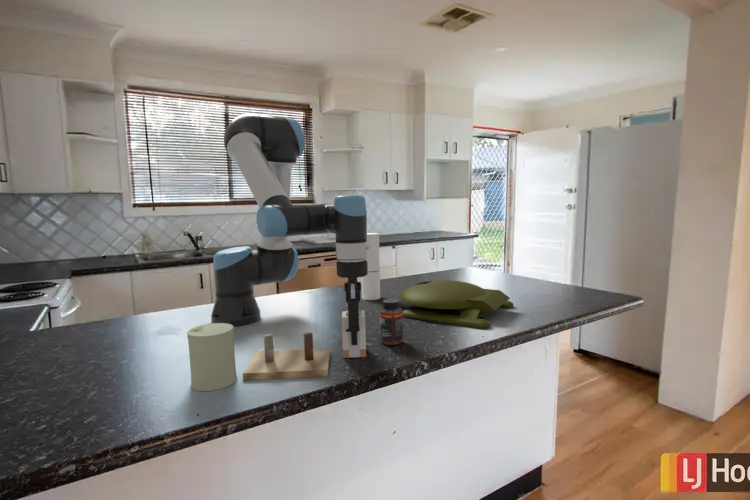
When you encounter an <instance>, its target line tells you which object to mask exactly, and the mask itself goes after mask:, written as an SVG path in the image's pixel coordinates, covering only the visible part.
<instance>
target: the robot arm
mask: <svg viewBox="0 0 750 500" xmlns="http://www.w3.org/2000/svg"><path fill="white" fill-rule="evenodd" d="M223 145H224V148H225V150H226V153H227V155H228V156H229V159H232V160H233V161H235V162H236V164H237V166H238V169H239V170H240V173H241V175H242V177H243V178H244V180H245V181H246V185H247V186H248V188H249V189H250V191H251V193H252V196H253V198H254V200H255V201H256V203H257V206H258V207H259V208H258V209H257V211H256V217H255V218H256V225H257V229H258V230H257V231H258V232H259V234H260V235H261V239H259V240H258V241H257V243H256V249H253V250H252V247H251V246H248V245H246V246H244V245H242V246H235V247H230V248H225V249H222V250H219V251H217V252H216V253H215V254H214V255H213V262H212V263H213V265H212V266H213V267H212V269H213V278H214V291H215V301H214V304H213V307H212V308H213V309H212V311H211V315H210V319H211V324H212V323H227V324H231V325H233V327H238V326H244V325H250V324H252V323H255V322H257V321H259V320H261V318H262V317H261V310H260V307H259V304H258V302H257V299H256V297H255V291H254V287H255V286H259V285H268V284H275V283H283V282H287V281H290V280H292V279H293V278H294V277H295V276H296V274H297V272H298V270H299V260H300V259H299V257H298V256H299V254H298V251H297V249H296V248H295V247H293V243H292V242H291V241H290V240H289V237H295V236H309V235H323V234H333V235H334V234H335V259H337V261H336V266H335V267H336V276H337V277H339V278H346V279H347V281H345V282H344V292H345V302H346V303H347V311H348V321H349V327H348V329H346V332H348V339H349V358H351V357H352V358H361V357H360V327H359V311H360V310H359V303H360V302H361V292H362V282H361V281H358V278H361V277H364V276H366V275H367V274H368V264H367V260H365V258H366V257H367V251H366V249H369V248H370V247H369V245H366V244H367V242H366V241H367V233H368V232H367V230H368V227H367V226H368V225H367V221H368V220H367V219H368V217H367V215H368V211H367V205H366V204H367V203H366V198H365V197H364V196H363V195H360V194H359V195H355V194H354V195H337V196H335V197H334V201H333V202H334V203H318V204H317V203H316V204H315V203H313V204H293V203H292V202H291V182H292V168H293V167H294V166H295V165H296V164H297V160H298V159H297V158H299V157H300V156H303V154H304V151H305V146H306V139H305V134H304V129H303V128H302V126H301V124H300V123H299V122H298V120H297V119H294V118H290V117H285V116H277V115H276V116H275V115H266V114H255V113H244V114H241V115H238V116H236V117H235V118H234V119H232V120H231V121H230V122H229V124H228V125H227V127H226V129H225V131H224V135H223Z"/></svg>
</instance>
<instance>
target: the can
mask: <svg viewBox="0 0 750 500" xmlns="http://www.w3.org/2000/svg"><path fill="white" fill-rule="evenodd" d="M234 327H235V326H233V325H231V324H227V323H212V322H211V323H207V324H201V325H197V326H194V327H192V328H191V329H189V330H188V331H187V332H186V335H187V342H188V343H187V344H188V354H189V367H190V388H191V389H193V390H195V391H198V392H213V391H218V390H223V389H226V388H228V387H229V386H232V385H233V384H234V383H236V381H237V379H238V376H237V368H236V355H235V354H236V353H235V337H234V336H235V335H234V332H235V331H234Z"/></svg>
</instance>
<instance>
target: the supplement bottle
mask: <svg viewBox="0 0 750 500" xmlns="http://www.w3.org/2000/svg"><path fill="white" fill-rule="evenodd" d="M382 303H383V304H382V305H383V307H382V308H380V310H379V322H380V323H379V324H380V341H381V342H380V343H382V344H384V345H387V346H395V345H400V344H402V342H404V325H403V321H404V320H403V315H402V312H403V310H402V308H401V307H399V300H398V299H395V298H387V299H383V302H382Z"/></svg>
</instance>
